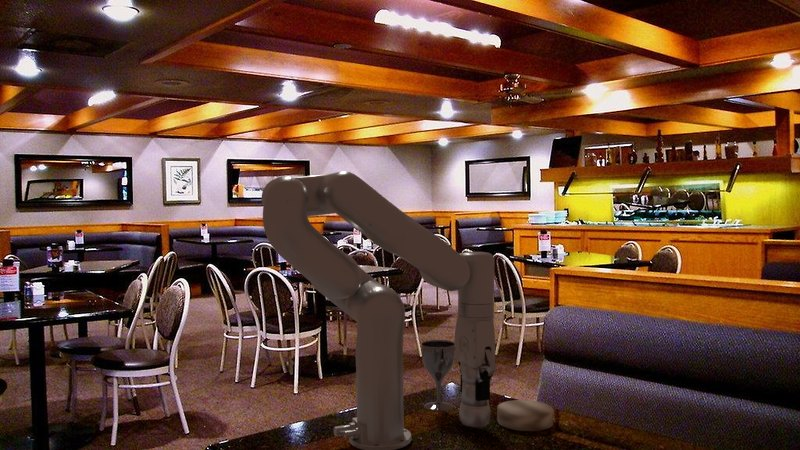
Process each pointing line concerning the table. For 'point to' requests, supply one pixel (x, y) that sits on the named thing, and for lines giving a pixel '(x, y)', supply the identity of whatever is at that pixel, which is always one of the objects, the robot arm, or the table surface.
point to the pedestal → (525, 415)
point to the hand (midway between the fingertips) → (474, 395)
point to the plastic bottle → (472, 398)
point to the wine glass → (438, 367)
